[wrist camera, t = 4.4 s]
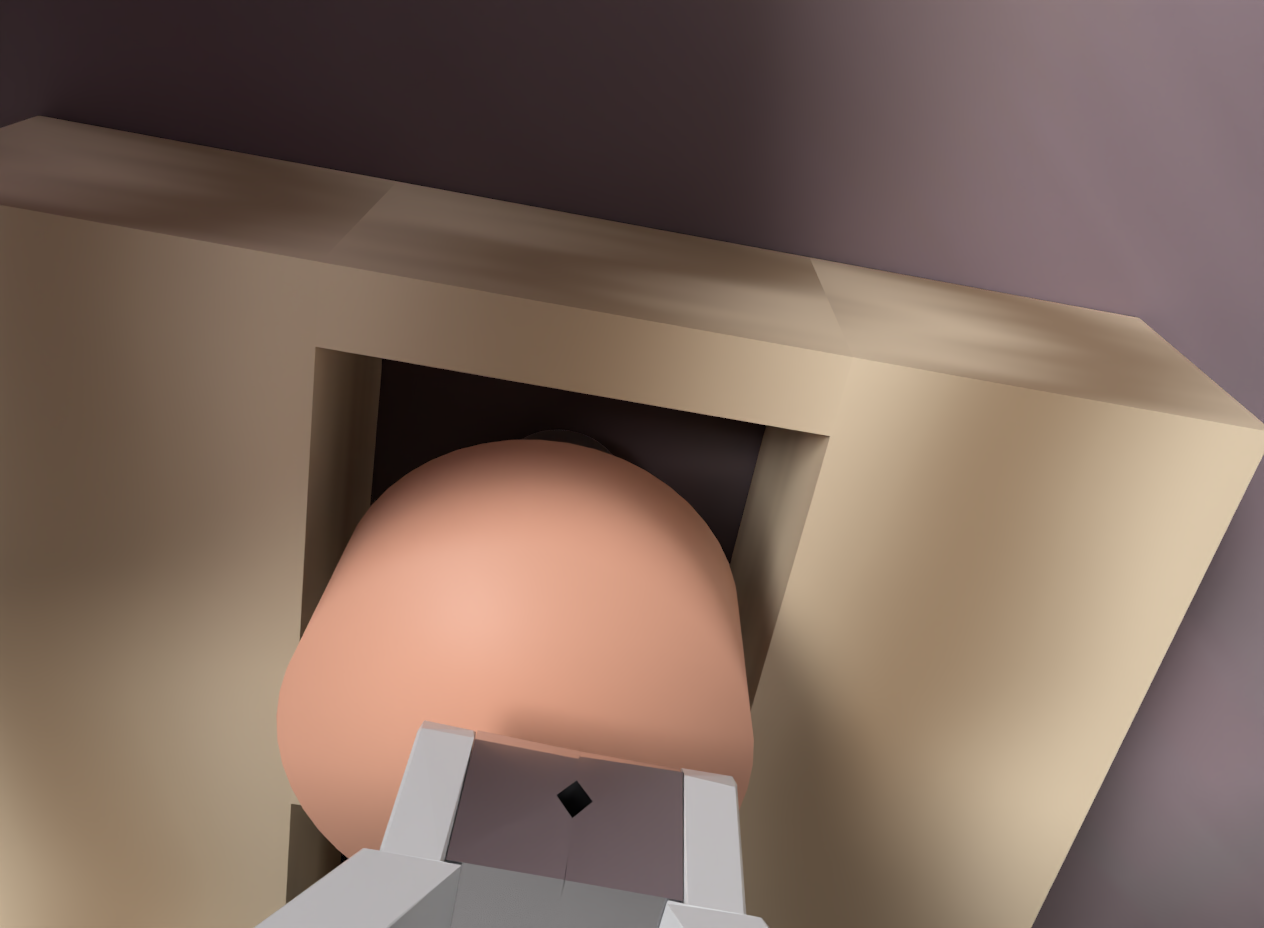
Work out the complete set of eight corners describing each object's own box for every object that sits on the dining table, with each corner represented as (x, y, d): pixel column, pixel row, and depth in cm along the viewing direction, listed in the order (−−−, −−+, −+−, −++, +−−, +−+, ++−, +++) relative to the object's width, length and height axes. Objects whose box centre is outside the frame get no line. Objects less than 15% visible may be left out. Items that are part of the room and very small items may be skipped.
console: (1138, 318, 16) (1273, 431, 13) (783, 1188, 26) (803, 1391, 23) (38, 115, 15) (-150, 177, 12) (98, 1098, 25) (6, 1295, 22)
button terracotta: (756, 366, 16) (806, 594, 11) (687, 645, 18) (699, 947, 13) (411, 306, 16) (284, 508, 10) (383, 597, 18) (268, 886, 13)
